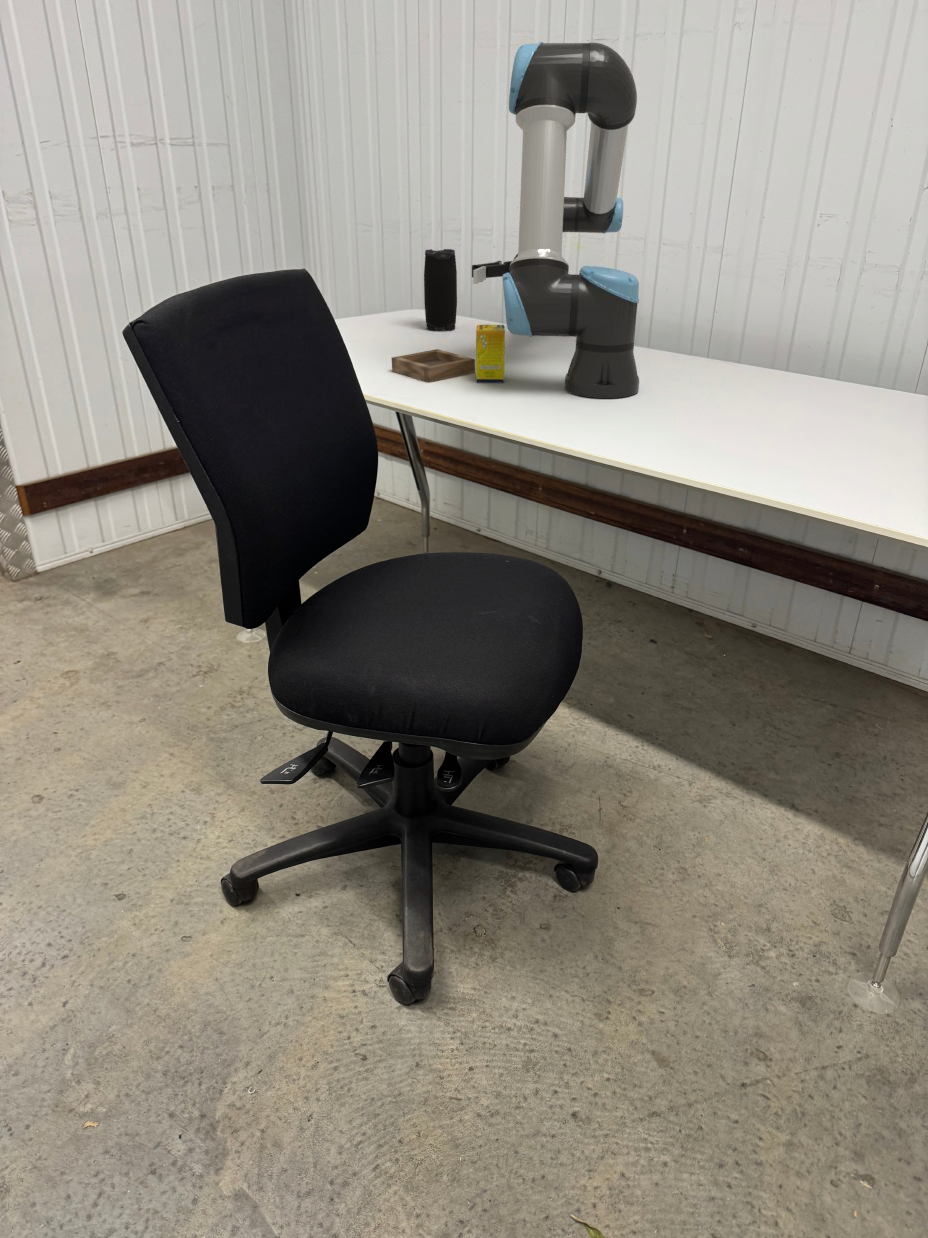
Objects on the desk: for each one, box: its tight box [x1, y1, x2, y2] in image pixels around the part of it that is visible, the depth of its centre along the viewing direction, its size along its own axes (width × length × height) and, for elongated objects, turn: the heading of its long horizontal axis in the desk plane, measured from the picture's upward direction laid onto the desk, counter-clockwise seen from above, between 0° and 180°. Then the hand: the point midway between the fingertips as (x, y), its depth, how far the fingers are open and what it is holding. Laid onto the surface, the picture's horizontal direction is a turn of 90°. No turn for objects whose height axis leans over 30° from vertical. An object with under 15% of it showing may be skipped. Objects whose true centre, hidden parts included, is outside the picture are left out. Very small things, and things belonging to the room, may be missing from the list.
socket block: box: [391, 348, 476, 383], centre depth 196 cm, size 13×13×3 cm
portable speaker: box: [423, 248, 458, 332], centre depth 234 cm, size 9×9×20 cm
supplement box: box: [475, 324, 506, 384], centre depth 188 cm, size 6×6×11 cm
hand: (505, 278), depth 189 cm, fingers open, 13 cm apart
